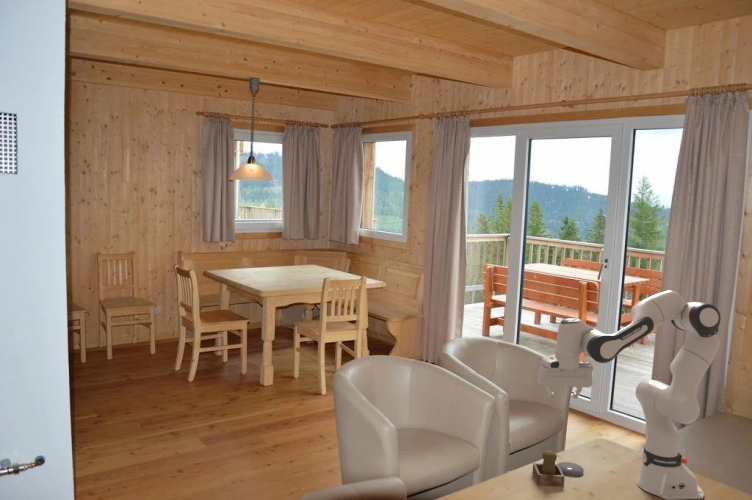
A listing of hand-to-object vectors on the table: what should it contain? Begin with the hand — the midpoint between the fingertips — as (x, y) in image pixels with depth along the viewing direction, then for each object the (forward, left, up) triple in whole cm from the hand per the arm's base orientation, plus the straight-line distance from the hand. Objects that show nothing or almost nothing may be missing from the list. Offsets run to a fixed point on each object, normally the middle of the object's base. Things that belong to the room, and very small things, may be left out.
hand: (563, 397), depth 231 cm
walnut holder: (+4, +1, -32) cm, 32 cm away
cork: (+4, +1, -32) cm, 32 cm away
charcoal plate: (-7, -8, -32) cm, 34 cm away
